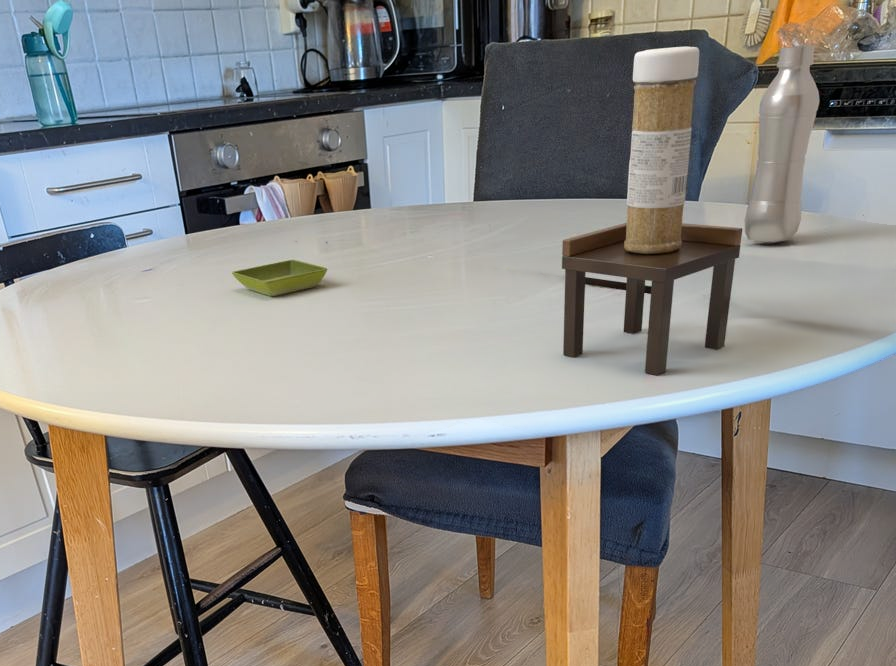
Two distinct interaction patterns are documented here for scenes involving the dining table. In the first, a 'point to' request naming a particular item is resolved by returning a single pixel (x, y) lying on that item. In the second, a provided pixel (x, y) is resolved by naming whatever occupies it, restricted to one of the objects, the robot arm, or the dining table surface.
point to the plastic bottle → (783, 148)
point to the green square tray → (281, 277)
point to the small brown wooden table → (611, 258)
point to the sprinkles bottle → (660, 148)
